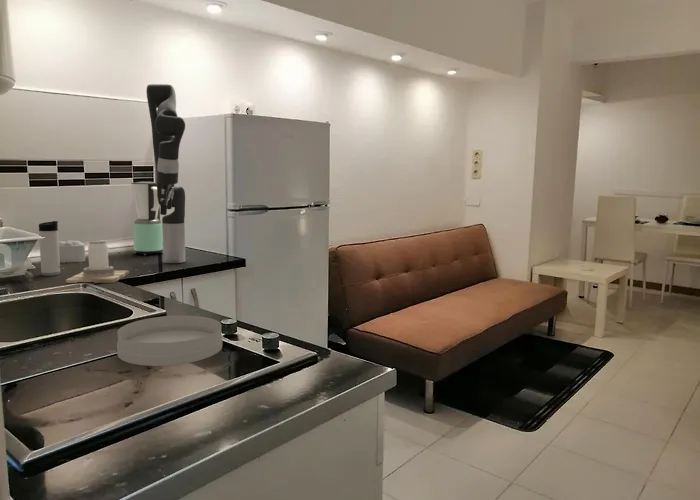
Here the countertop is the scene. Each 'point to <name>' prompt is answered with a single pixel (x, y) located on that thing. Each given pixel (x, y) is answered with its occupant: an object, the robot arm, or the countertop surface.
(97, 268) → the can
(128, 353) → the dish
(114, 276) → the socket plate
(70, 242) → the light grey rounded block
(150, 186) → the juicer
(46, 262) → the travel mug
